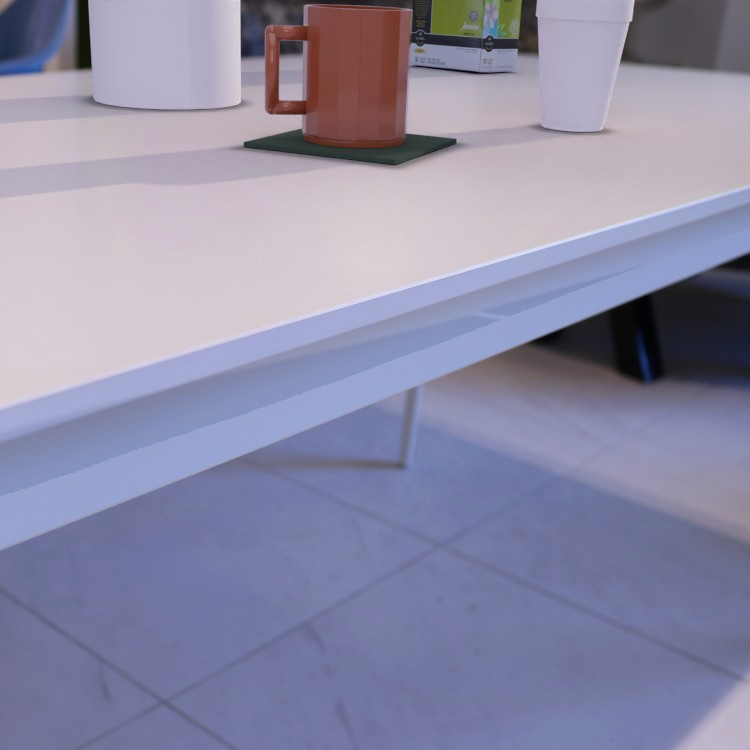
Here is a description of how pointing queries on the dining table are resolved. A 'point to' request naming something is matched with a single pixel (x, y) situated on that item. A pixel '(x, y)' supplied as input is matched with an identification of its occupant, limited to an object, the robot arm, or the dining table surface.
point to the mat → (390, 155)
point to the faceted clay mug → (347, 74)
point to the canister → (166, 53)
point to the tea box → (466, 34)
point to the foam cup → (579, 60)
